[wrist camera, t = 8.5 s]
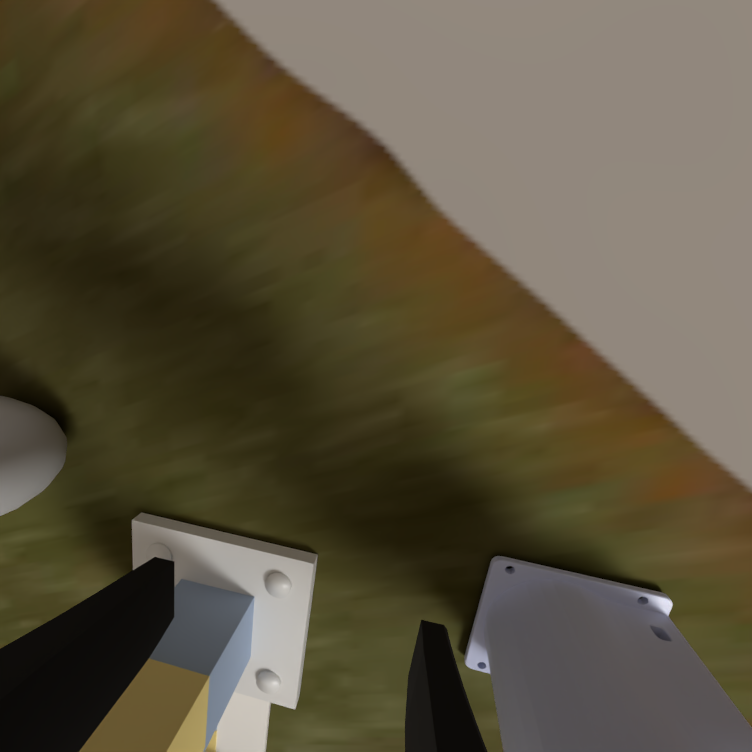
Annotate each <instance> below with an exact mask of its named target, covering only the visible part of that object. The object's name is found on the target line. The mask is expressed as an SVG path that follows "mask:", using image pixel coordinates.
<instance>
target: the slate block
mask: <svg viewBox="0 0 752 752" xmlns="http://www.w3.org/2000/svg"><path fill="white" fill-rule="evenodd" d="M254 598H255V597H253V596H249V595H245V594H241V593H237V592H233V591H229V590H225V589H221V588H217V587H212V586H208V585H204V584H200V583H196V582H192V581H188V580H184V579H181V580H180V581H179V583H178V584H177V585H176V586H175V587H174V618H173V620H172V622H171V623H170V625H169V627H168V628H167V630H166V632H165V633H164V635H163V637H162V638H161V640H160V642H159V643H158V645H157V646H156V648H155V650H154V651H153V653H152V654H151V656H150V658H149V659H153V660H156V661H160V662H163V663H166V664H170V665H173V666H177V667H180V668H183V669H187V670H190V671H194V672H197V673H200V674H204V675H207V676H210V677H209V694H208V710H207V726H206V743H205V748H204V750H203V751H205V750H206V748H207V746H208V744H209V742H210V740H211V738H212V736H213V734H214V732H215V729H216V727H217V725H218V723H219V721H220V719H221V717H222V715H223V713H224V711H225V709H226V707H227V705H228V703H229V701H230V699H231V697H232V695H233V692H234V690H235V688H236V686H237V684H238V682H239V680H240V678H241V676H242V674H243V672H244V670H245V668H246V666H247V664H248V662H249V660H250V657H251V644H252V628H253V613H254Z"/></svg>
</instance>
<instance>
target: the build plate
mask: <svg viewBox="0 0 752 752" xmlns="http://www.w3.org/2000/svg"><path fill="white" fill-rule="evenodd" d="M132 553H133V570H134V569H136V568H137V567H139V566H141V565H142V564H144V563H146V562H147V561H149V560H151V559H152V558H154V557H158V558H162V559H166V560H170V561H174V587H175V586H176V585H177V584H178V583H179V581H180V580H181V579H184V580H188V581H192V582H196V583H200V584H204V585H208V586H212V587H217V588H221V589H225V590H229V591H233V592H237V593H241V594H245V595H249V596H253V597H255V598H254V613H253V628H252V644H251V657H250V660H249V662H248V664H247V666H246V668H245V670H244V672H243V674H242V676H241V678H240V680H239V682H238V684H237V686H236V688H235V690H234V692H236V693H239V694H243V695H246V696H250V697H253V698H257V699H260V700H264V701H267V702H271V703H274V704H278V705H281V706H285V707H288V708H292V709H295V708H296V705H297V702H298V699H299V694H300V687H301V679H302V671H303V664H304V656H305V648H306V641H307V633H308V626H309V618H310V610H311V603H312V595H313V587H314V580H315V572H316V565H317V557H318V554H314V553H310V552H305V551H301V550H297V549H293V548H289V547H284V546H280V545H276V544H272V543H268V542H263V541H259V540H255V539H251V538H247V537H243V536H238V535H234V534H230V533H226V532H222V531H217V530H213V529H209V528H205V527H201V526H197V525H192V524H188V523H184V522H180V521H176V520H171V519H167V518H163V517H159V516H155V515H150V514H146V513H142V512H141V513H140V514H139V515H138V516H136V517H135V518H134V519H132Z"/></svg>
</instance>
